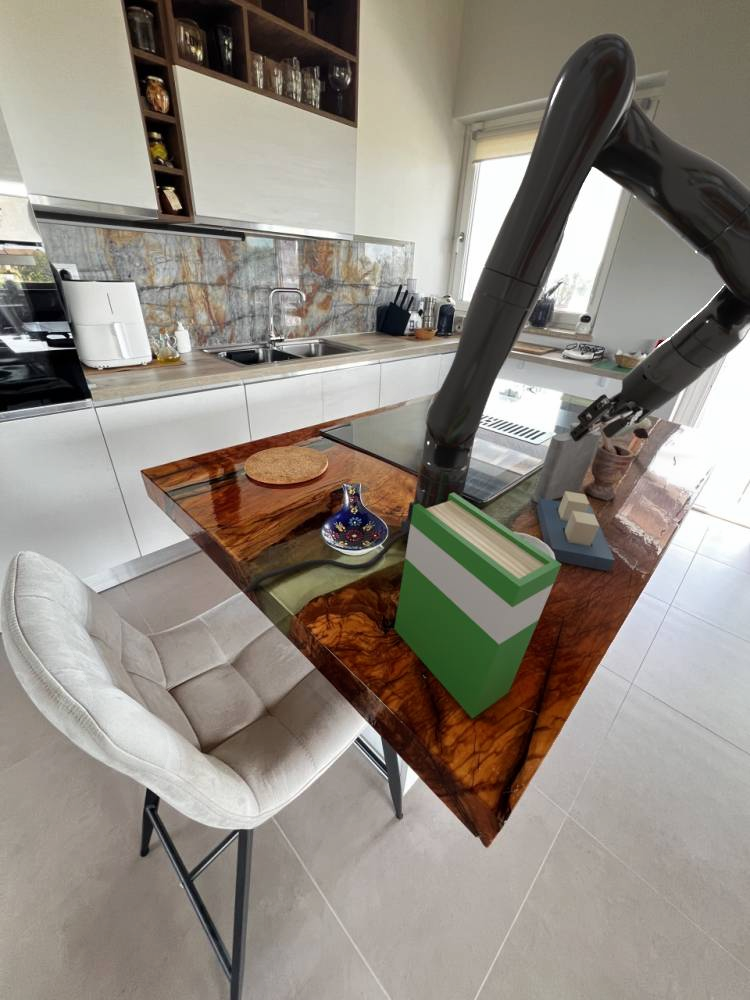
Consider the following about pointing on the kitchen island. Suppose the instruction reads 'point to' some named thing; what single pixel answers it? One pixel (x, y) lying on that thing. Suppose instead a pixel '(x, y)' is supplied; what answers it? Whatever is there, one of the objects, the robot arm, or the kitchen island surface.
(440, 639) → the hardback book
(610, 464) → the mortar and pestle
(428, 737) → the kitchen island surface
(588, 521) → the beige block
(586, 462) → the hip flask
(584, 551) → the holder
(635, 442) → the grandmother figurine
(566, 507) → the beige wooden block
